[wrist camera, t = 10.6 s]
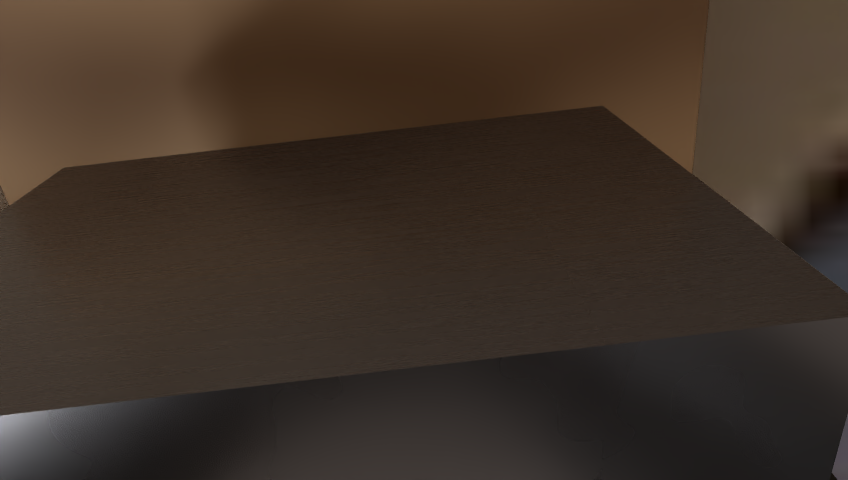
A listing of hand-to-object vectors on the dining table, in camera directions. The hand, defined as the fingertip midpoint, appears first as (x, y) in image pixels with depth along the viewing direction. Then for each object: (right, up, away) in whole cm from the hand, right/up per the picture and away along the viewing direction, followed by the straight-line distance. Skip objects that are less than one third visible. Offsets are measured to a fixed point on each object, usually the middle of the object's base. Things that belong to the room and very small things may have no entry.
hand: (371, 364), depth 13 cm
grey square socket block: (0, 0, 0) cm, 0 cm away
